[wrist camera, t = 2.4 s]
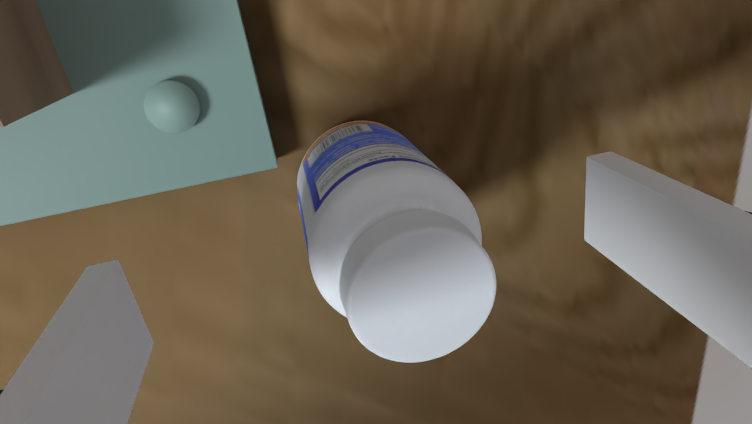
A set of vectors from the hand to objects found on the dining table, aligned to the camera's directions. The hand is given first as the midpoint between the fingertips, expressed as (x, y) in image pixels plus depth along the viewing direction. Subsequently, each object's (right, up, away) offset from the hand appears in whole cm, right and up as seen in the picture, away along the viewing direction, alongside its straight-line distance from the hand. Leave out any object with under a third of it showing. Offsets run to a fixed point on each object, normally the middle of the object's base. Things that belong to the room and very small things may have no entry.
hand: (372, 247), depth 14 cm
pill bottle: (-1, +3, +8) cm, 8 cm away
